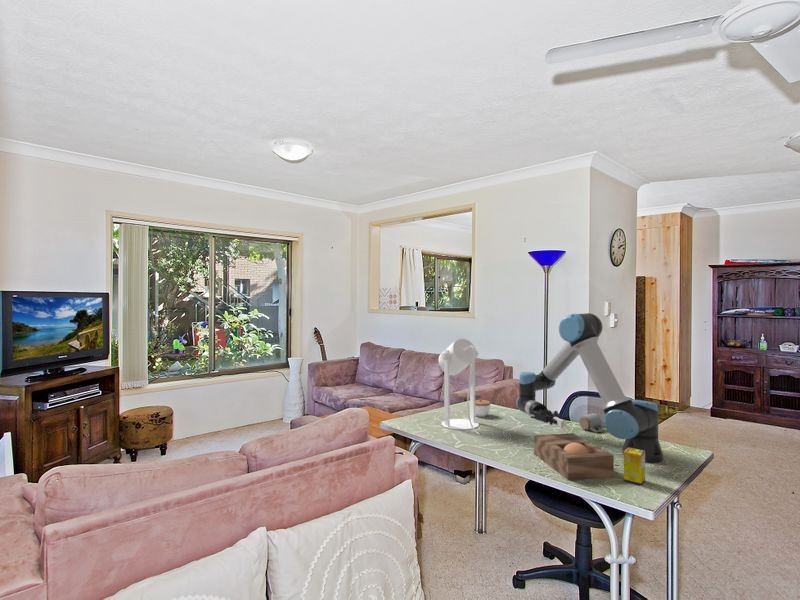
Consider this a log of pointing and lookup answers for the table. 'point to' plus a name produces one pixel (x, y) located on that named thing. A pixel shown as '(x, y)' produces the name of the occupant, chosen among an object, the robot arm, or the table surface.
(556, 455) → the walnut stand
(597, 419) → the ceramic mug
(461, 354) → the desk lamp
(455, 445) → the table surface
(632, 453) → the supplement box
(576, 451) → the ball
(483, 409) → the lidded jar
